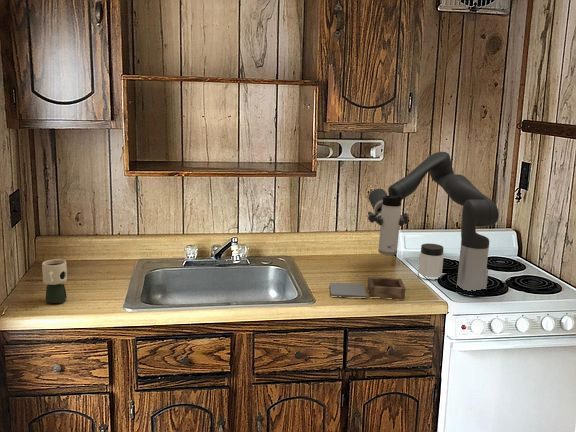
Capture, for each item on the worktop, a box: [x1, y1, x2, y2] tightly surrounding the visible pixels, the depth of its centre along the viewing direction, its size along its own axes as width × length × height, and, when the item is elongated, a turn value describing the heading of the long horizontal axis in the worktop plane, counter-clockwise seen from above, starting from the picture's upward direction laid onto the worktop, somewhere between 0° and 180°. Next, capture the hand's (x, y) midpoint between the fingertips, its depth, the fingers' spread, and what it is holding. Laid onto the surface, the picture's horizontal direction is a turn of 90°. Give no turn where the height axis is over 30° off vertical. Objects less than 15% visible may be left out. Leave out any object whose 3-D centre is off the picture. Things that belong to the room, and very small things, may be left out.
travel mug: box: [378, 194, 403, 256], centre depth 201 cm, size 6×7×20 cm
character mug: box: [41, 258, 68, 304], centre depth 188 cm, size 11×7×13 cm, turn 6°
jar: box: [417, 243, 445, 277], centre depth 225 cm, size 9×8×12 cm
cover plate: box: [329, 282, 368, 298], centre depth 207 cm, size 12×12×1 cm
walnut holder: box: [367, 276, 406, 300], centre depth 206 cm, size 12×10×4 cm
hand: (390, 222), depth 199 cm, fingers closed on travel mug, 6 cm apart
